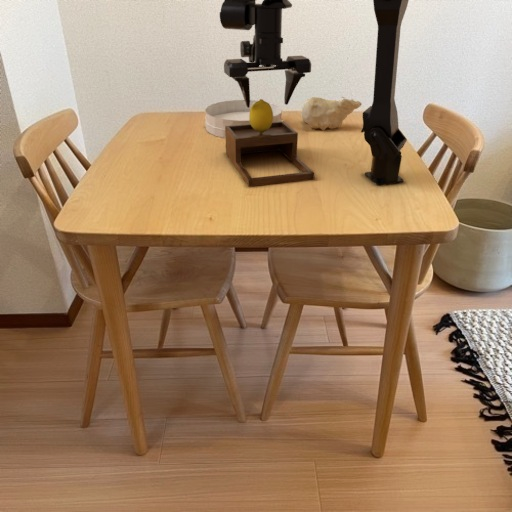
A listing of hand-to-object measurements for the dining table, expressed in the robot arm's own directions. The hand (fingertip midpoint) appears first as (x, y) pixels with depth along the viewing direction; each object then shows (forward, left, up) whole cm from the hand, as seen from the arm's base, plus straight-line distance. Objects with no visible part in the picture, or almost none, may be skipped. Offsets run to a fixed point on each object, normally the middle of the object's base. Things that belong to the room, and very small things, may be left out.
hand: (267, 105), depth 110 cm
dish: (+25, -1, -13) cm, 28 cm away
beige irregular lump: (+19, -25, -13) cm, 34 cm away
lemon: (0, +1, -7) cm, 7 cm away
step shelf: (-5, +1, -13) cm, 13 cm away
